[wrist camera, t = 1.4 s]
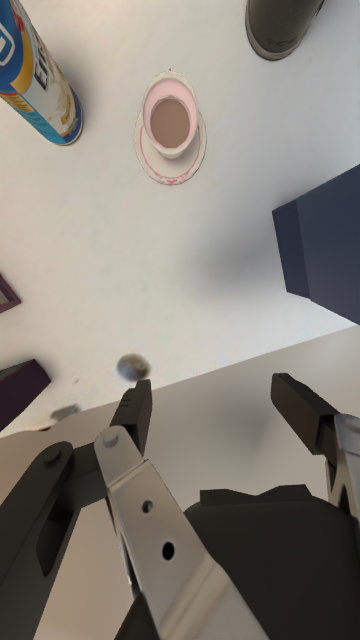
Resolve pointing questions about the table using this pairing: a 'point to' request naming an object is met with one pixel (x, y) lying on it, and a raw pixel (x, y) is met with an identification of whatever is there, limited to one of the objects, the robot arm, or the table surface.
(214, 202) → the table surface
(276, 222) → the case
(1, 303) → the book
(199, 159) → the teacup
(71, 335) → the table surface
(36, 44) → the beverage bottle
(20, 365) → the decorative box
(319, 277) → the lid
